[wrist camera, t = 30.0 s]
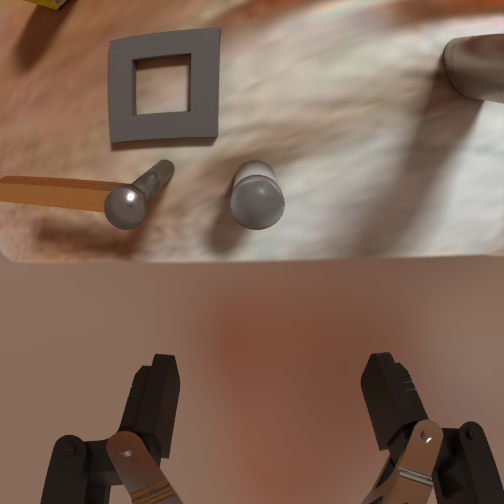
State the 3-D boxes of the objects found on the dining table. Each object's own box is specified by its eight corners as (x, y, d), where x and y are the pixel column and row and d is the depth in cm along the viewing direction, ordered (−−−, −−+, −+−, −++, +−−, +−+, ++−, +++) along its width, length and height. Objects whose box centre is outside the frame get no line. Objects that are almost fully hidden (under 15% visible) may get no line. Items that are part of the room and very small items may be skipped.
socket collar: (220, 30, 27) (219, 28, 26) (218, 135, 33) (217, 136, 32) (114, 42, 27) (109, 41, 25) (115, 140, 33) (110, 142, 32)
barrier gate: (52, 148, 32) (-16, 179, 20) (180, 156, 34) (144, 190, 22) (52, 174, 34) (-12, 211, 22) (177, 184, 36) (143, 232, 24)
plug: (277, 160, 35) (286, 179, 27) (274, 200, 37) (282, 230, 30) (234, 159, 35) (230, 178, 27) (233, 199, 37) (230, 229, 29)
